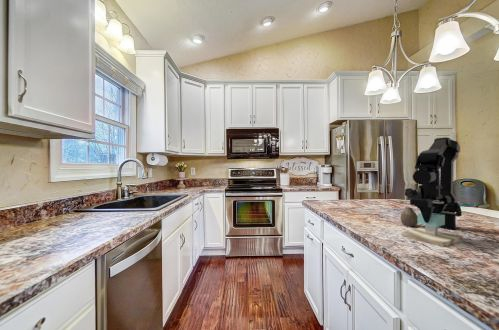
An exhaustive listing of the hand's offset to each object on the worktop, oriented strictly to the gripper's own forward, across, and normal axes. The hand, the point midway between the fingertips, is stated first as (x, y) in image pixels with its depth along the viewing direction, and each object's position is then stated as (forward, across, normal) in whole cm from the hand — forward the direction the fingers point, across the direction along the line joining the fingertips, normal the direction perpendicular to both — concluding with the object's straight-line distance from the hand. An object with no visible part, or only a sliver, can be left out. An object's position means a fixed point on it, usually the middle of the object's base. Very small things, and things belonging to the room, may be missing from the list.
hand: (431, 221), depth 88 cm
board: (+7, 0, 0) cm, 7 cm away
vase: (+7, -11, -14) cm, 19 cm away
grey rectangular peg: (+5, 0, 0) cm, 5 cm away
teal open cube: (+1, 0, 0) cm, 1 cm away
